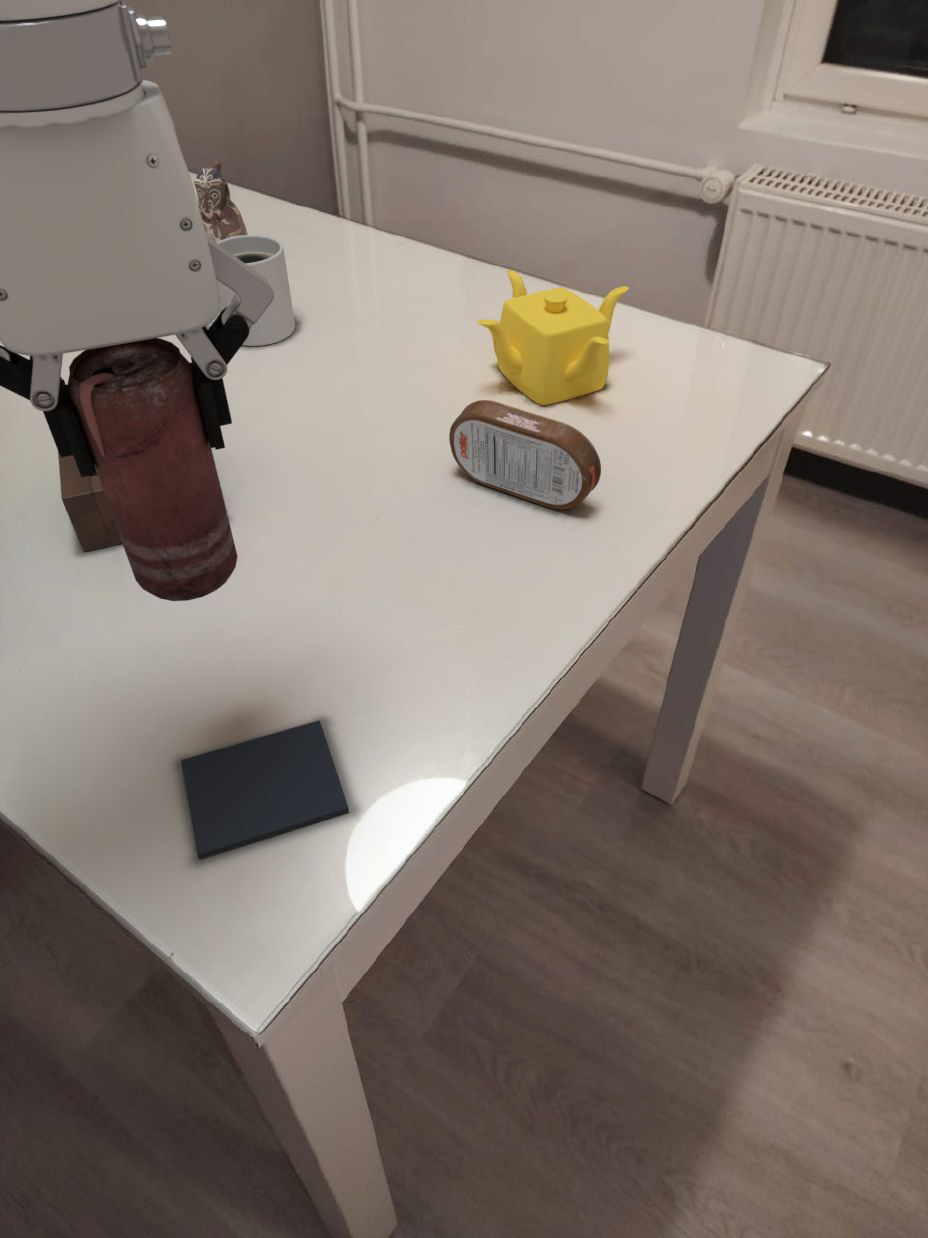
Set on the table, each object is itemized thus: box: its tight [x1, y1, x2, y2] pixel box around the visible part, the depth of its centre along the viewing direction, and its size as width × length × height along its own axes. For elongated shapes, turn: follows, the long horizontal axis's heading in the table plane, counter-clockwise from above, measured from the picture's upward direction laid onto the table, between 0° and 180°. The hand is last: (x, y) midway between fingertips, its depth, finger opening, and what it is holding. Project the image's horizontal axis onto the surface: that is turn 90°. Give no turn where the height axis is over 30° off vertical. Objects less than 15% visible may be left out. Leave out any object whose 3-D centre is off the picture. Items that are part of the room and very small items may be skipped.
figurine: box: [193, 161, 249, 242], centre depth 120 cm, size 7×7×12 cm
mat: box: [180, 719, 350, 860], centre depth 60 cm, size 10×8×1 cm
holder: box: [57, 451, 123, 553], centre depth 81 cm, size 12×12×6 cm
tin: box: [448, 399, 602, 510], centre depth 81 cm, size 15×3×8 cm, turn 59°
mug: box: [206, 234, 296, 347], centre depth 105 cm, size 11×10×10 cm
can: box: [66, 337, 238, 602], centre depth 48 cm, size 6×6×14 cm
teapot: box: [476, 269, 630, 406], centre depth 96 cm, size 15×14×10 cm
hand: (150, 446), depth 47 cm, fingers closed on can, 6 cm apart
